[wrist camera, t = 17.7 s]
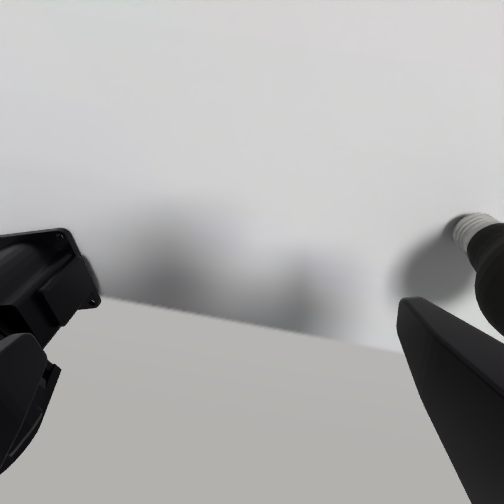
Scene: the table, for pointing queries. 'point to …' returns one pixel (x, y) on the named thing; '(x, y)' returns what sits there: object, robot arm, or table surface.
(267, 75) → the table surface
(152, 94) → the table surface
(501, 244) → the light bulb
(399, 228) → the table surface
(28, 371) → the robot arm
